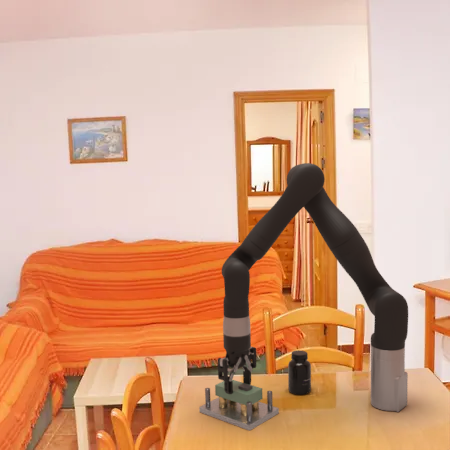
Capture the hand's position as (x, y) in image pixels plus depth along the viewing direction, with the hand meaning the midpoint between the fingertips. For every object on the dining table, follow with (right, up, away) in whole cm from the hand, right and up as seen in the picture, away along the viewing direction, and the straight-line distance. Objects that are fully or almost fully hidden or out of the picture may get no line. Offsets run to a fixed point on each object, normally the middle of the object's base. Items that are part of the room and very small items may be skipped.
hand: (238, 388), depth 153 cm
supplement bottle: (+19, -5, +15) cm, 25 cm away
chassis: (0, -7, +1) cm, 7 cm away
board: (0, -2, 0) cm, 2 cm away
